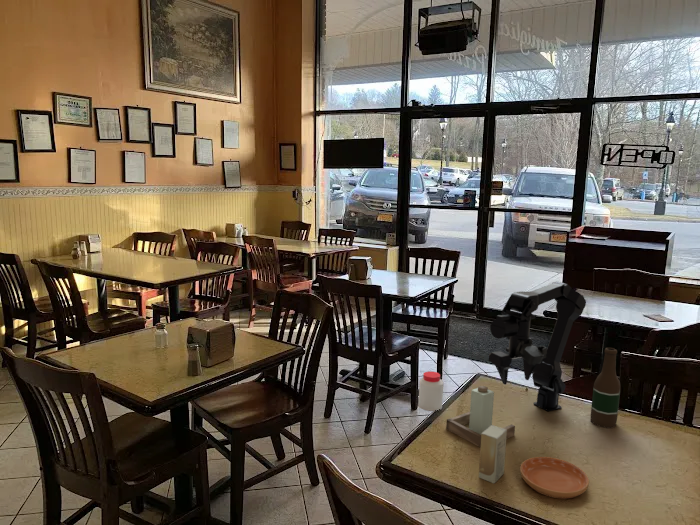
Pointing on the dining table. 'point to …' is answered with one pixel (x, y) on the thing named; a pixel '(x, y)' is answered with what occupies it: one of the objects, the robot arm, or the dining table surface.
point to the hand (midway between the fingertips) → (515, 382)
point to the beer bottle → (606, 393)
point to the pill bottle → (430, 391)
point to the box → (468, 434)
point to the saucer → (554, 477)
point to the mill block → (481, 409)
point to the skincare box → (492, 453)
